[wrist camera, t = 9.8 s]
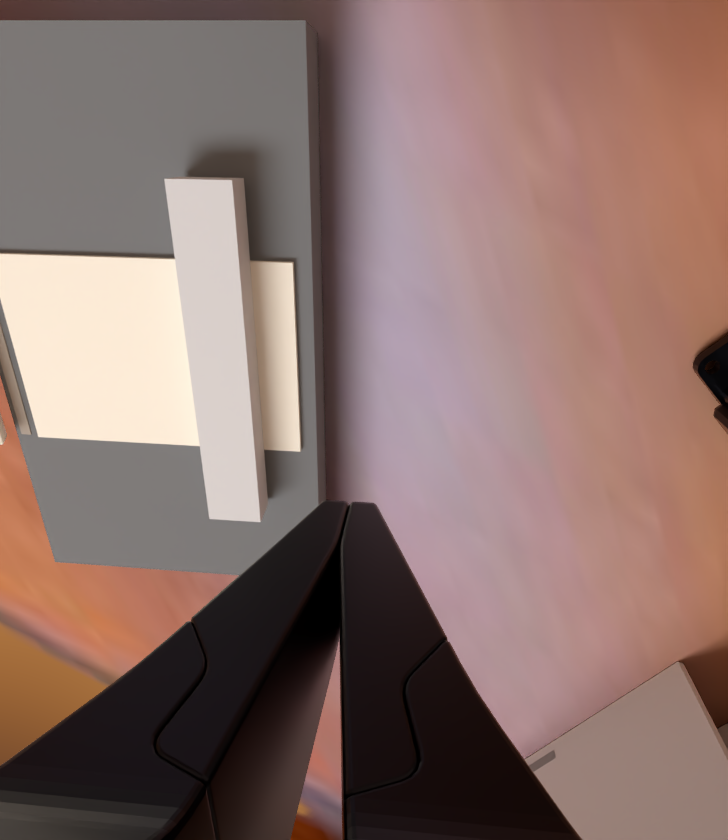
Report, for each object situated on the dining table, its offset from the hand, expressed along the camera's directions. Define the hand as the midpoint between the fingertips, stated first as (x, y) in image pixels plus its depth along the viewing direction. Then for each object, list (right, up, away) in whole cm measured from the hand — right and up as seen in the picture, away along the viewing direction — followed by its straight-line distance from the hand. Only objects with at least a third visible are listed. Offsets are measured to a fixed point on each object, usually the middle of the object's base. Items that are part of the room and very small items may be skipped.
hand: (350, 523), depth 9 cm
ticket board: (-7, +5, +13) cm, 16 cm away
